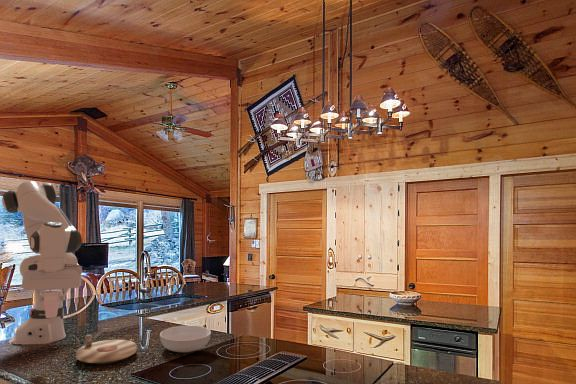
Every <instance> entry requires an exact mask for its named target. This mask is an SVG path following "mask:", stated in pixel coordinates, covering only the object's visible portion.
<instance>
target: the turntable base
mask: <svg viewBox="0 0 576 384" xmlns="http://www.w3.org/2000/svg"><path fill="white" fill-rule="evenodd" d="M126 359H127V358H124V359H120V360H117V361H111V362H104V363H88V362H85V363H86V364H88V365H93V366H103V365H105V366H106V365H107V366H108V365H112V364H115V363H120V362H122V361H124V360H126Z"/></svg>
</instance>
